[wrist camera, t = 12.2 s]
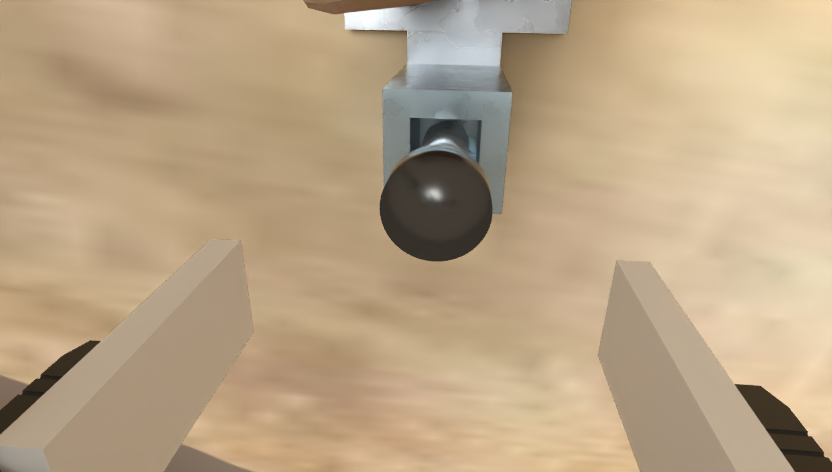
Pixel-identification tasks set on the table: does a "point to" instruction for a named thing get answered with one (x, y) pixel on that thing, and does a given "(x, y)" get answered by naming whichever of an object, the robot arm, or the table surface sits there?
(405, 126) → the press
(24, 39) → the table surface
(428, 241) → the plunger
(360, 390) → the table surface
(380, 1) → the wooden block
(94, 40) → the table surface
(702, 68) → the table surface
